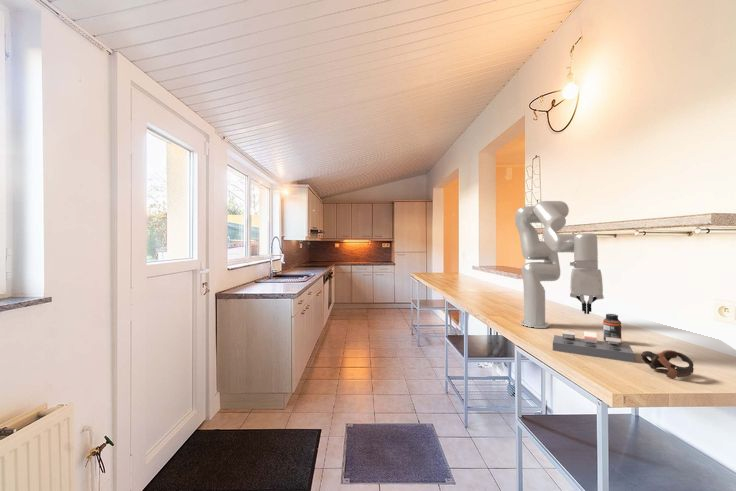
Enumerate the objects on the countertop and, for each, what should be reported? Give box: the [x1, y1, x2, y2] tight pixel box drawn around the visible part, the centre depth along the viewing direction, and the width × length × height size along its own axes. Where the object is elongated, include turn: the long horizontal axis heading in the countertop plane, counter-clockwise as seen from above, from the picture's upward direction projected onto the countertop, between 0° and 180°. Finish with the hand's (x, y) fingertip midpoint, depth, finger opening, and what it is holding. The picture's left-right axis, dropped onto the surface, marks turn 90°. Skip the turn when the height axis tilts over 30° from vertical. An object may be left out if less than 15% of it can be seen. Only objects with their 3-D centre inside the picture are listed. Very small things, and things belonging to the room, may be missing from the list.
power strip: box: [552, 334, 635, 363], centre depth 120 cm, size 12×24×3 cm, turn 57°
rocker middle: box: [583, 331, 598, 343], centre depth 123 cm, size 6×4×2 cm, turn 147°
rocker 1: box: [562, 329, 576, 339], centre depth 126 cm, size 6×4×2 cm, turn 147°
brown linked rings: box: [640, 349, 695, 380], centre depth 99 cm, size 12×10×8 cm
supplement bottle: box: [602, 313, 623, 344], centre depth 133 cm, size 6×6×11 cm
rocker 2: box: [606, 337, 622, 345], centre depth 119 cm, size 6×4×2 cm, turn 147°
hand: (586, 313), depth 123 cm, fingers closed
